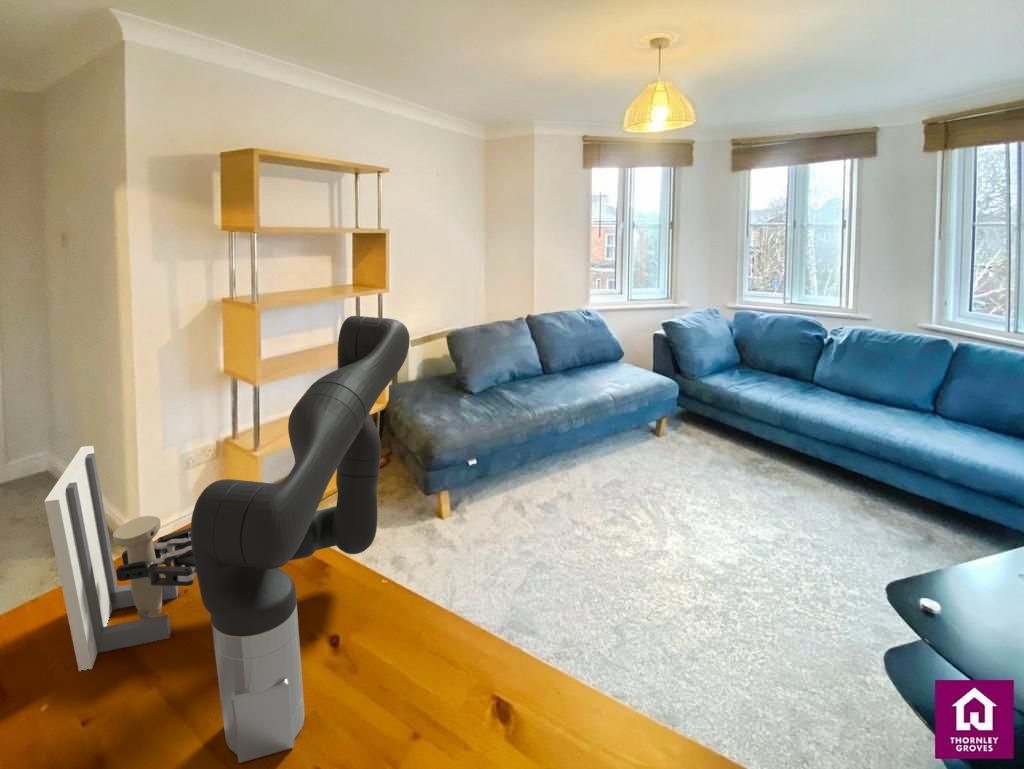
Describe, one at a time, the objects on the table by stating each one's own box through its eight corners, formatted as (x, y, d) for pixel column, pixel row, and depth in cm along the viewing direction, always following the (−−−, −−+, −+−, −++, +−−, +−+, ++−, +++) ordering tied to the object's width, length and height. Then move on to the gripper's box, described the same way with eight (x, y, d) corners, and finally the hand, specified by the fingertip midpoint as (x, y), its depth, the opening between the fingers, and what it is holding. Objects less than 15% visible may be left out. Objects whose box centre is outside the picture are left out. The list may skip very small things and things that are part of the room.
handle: (120, 624, 89) (104, 536, 85) (152, 598, 95) (138, 514, 91) (149, 629, 88) (135, 540, 84) (179, 602, 94) (167, 518, 90)
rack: (166, 653, 85) (141, 489, 78) (79, 671, 81) (44, 501, 74) (180, 580, 101) (160, 439, 94) (107, 593, 97) (81, 446, 90)
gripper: (245, 504, 100) (125, 520, 93) (243, 547, 87) (105, 570, 81) (249, 543, 102) (132, 562, 95) (248, 591, 89) (113, 617, 83)
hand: (120, 566), depth 88 cm, fingers closed on handle, 3 cm apart
